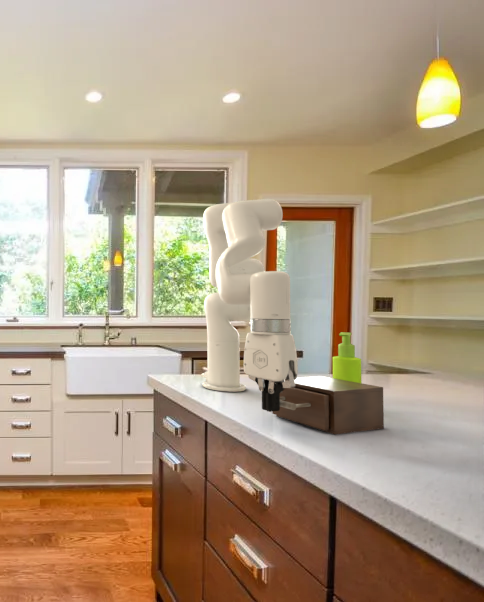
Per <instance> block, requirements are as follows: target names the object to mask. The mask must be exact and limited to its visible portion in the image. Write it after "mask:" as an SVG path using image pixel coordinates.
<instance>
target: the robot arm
mask: <svg viewBox="0 0 484 602" xmlns="http://www.w3.org/2000/svg"><path fill="white" fill-rule="evenodd" d="M283 214H284V213H283V208H282V206H281V204H280V203H279V201H278V200H276V199H273V198H262V199H261V198H260V199H247V200H237V201H233V202H225V203H216V204H212V205H210V206H208V207H207V208H206V209H205V210H204V212H203V215H202V225H203V231H204V234H205V236H206V237H205V238H206V239H207V242H208V249H209V250H208V254H209V255H208V278H209V283H210V285H211V286H212V287H214V288H217V292H212V293H209V294H208V295H207V296H206V297H205V298H204V302H203V308H204V316H205V321H206V343H207V344H206V349H207V350H206V351H207V353H206V354H207V357H206V358H207V359H206V361H207V362H206V363H207V366H206V367H207V370H206V371H204V372H202V373H201V374H200V376H201V377H202V378H205V381H203V382H202V387H203V388H205V389H208V390H212V391H218V392H230V393H234V392H238V393H239V392H244V391H245V390H246V385H245V384H242V383H241V370H240V369H241V368H240V367H241V363H240V362H241V361H240V359H241V358H240V357H241V355H240V353H241V351H240V349H241V347H240V334H239V331H238V329H236V327H234V325H233V324H232V323H231V322H248V327H250V331H249V332H247V334H246V337H245V342H244V351H243V372H244V374H245V375H246V376H248V379H249V380H251V381H253V382H255V383H256V384H257V387H258V390H259V391H260V392H261V409H262V410H263V411H267V412H272V411H279V410H280V393H282V392H283V390H284V389H285V388H294V387H295V381H294V380H295V379H296V378H298V371H299V368H298V354H297V347H296V342H295V338H294V335H293V334H292V333H291V331H292V330H291V329H292V328H291V324H292V323H291V320H292V319H291V276H290V275H289V273H288V272H286V271H280V270H269V271H268V270H267V271H266V269H265V267H264V263H263V262H262V261H261V260H260V259H259V258H258V259H257V258H253V257H256V255H258V254H259V253H261V252H262V251H263V250H264V248H265V246H266V239H265V236H264V233H263V232H264V231H274V230H276V229H277V228H279V227H280V225H281V224H282V221H283V216H284V215H283ZM284 380H285V381H284Z"/></svg>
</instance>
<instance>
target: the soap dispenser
mask: <svg viewBox="0 0 484 602" xmlns="http://www.w3.org/2000/svg"><path fill="white" fill-rule="evenodd" d="M352 334H353V332H345V331H341V332H340V333H338V335H339V337H341V343H339V344H338V345H337V347H338V348H337V353H338V355H334V356H332V357H331V358H332V360H331V361H332V378H335V379H340V380H346V381H351V382H357V383H362V359H361V358H360V357H356V346H355V344H353V343H351V336H352Z"/></svg>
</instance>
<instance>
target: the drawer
mask: <svg viewBox="0 0 484 602" xmlns="http://www.w3.org/2000/svg"><path fill="white" fill-rule="evenodd" d="M312 391H313V390H309V389H304V388H300V387H294V388H285V389H284V390H283V392H282V393H280V410H279V411H271V412H272V413H271V414H272V415H275V416H276V415H278V416H281V417H284V418H288V419H291V420H294V421H297V422H300V423H303V424H307V425H310V426H313V427H316V428H319V429H322V430H329V426H330V427H331V411H330V394H327V393H325V394H326V395H325V394H321V393H322V392H321V393H316V392H318V391H316V392H312ZM278 416H277V417H278ZM281 417H280V418H281ZM284 418H283V419H284ZM300 423H299V424H300ZM303 424H302V425H303Z"/></svg>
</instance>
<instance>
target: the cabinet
mask: <svg viewBox="0 0 484 602" xmlns="http://www.w3.org/2000/svg"><path fill="white" fill-rule="evenodd" d="M284 381H285V380H284ZM294 381H295V387H300V388H304V389H309V390H313V391H318V392H322V393H327V394H330V411H331V427H330V426H329V430H322V429H319V428H316V427H313V426H310V425H307V424H303V423H300V422H297V421H294V420H291V419H288V418H284V417H281V416H278V415H275V416H276V417H278V418H281V419H284V420H288V421H291V422H294V423H297V424H300V425H303V426H306V427H309V428H312V429H316V430H319V431H322V432H324V433H327V434H331V435H335V436H337V435H343V434H350V433H359V432H368V431H374V430H375V431H376V430H383V429H385V428H384V427H385V424H384V423H385V419H384V415H385V414H384V413H385V412H384V411H385V410H384V386H380V385H379V386H378V385H374V384H367V383H363V382H361V383H357V382H351V381H346V380H340V379H335V378H333V377H327V376H322V375H317V376H316V375H314V376H301V377H297V378H296V379H295V380H294Z"/></svg>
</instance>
